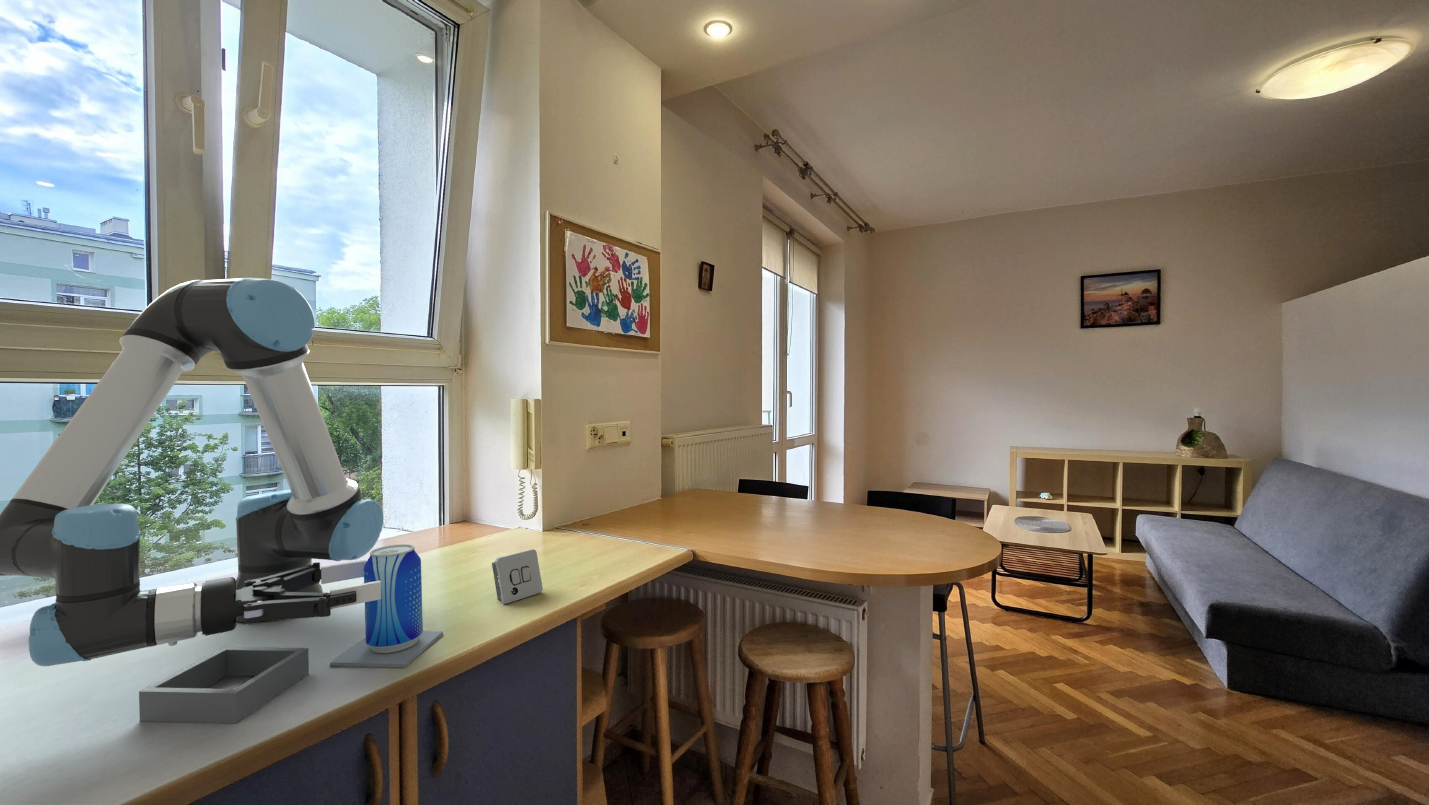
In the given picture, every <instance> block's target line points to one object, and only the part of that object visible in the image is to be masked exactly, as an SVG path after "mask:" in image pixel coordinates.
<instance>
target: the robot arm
mask: <svg viewBox="0 0 1429 805" xmlns="http://www.w3.org/2000/svg"><path fill="white" fill-rule="evenodd" d="M315 327H316V319H315V314H314V311H313V308H312V307H311V305H310V303H309V301H308V300H307V299H306V297H305V296H304V295H303V294H302V293H301V292H300V291H299V290H297V289H296V288H295V287H294V286H291V285H289V284H288V283H286V282H285V281H282V280H279V279H273V278H262V277H260V278H259V277H254V276H253V277H240V278H239V277H237V278H222V279H221V278H220V279H193V280H190V281H185V282H183V283H179V284H177V285H175V286H173V287H171V288H169V289H167V290H165V292H163V293H162V294H161V295H159V296H158V297H156V298H155V299H154V300H153V301H152V302H151V303H149V305H148V306H146V307H145V308H144V310H142V311H141V312H140V313H139V315H138V316H137V317H136V318H135V319H134V321H132V323H131V324H130V326H128V328H127V329H126V330H125V332H124V333H123V334H122V335H121V337H120V338H119V340H118V341H119V344H120V346H121V348H122V350H121V352H120V353H119V354H118V356H117V357H116V358H115V359H114V360H113V362H112V364H111V365H110V367H109V368H108V369H107V370H106V372H105V373H104V374H103V376H102V377H101V378H100V380H99V381H98V382H97V384H96V385H95V386H94V388H93V389H92V390H91V392H90V393H89V395H88V396H87V397H86V398H85V400H84V401H83V402H82V404H81V405H80V407H78V410H77V411H76V412H75V414H73V416H72V417H71V419H70V420H69V421H68V422H67V424H66V426H65V427H64V428H63V430H62V431H61V432H60V433H59V435H58V436H57V438H56V439H55V440H54V442H53V443H52V444H51V446H50V447H49V448H48V450H47V451H46V453H45V454H44V456H42V458H41V459H40V460H39V462H38V463H37V465H36V466H35V467H34V469H32V472H31V473H30V474H29V475H28V477H27V478H26V479H25V481H24V482H23V484H22V485H21V487H19V489H18V490H17V491H16V493H15V494H14V495H13V497H12V498H11V500H10V501H9V502H8V504H6V506H5V507H4V508H3V509H2V510H1V512H0V577H2V576H4V577H6V576H12V577H13V576H19V577H21V576H22V577H36V578H44V579H46V578H47V579H54V580H55V581H54V583H55V602H53V603H51V604H50V605H45V606H42V607H40V608H38V609H37V610H36V611H35V612H33V615H32V618H31V621H30V624H29V636H28V651H29V657H30V660H32V662H33V664H35V665H37V666H40V667H52V666H58V665H64V664H69V663H70V664H71V663H77V662H81V661H82V662H88V661H91V660H94V659H99V658H103V657H104V658H105V657H108V656H113V655H117V654H122V653H126V652H131V651H137V650H141V649H145V648H151V647H156V646H160V645H165V644H168V646H170V647H173V646H176V645H177V644H178V642H181V641H185V640H189V639H194V638H196V637H197V635H198V633H201V634H202V635H204V636H205V637H207V636H212V635H217V634H222V633H227V632H231V631H234V630H236V627H237V626H238V625H237V624H238V623H239V622H240V623H241V622H242V623H243V624H246V625H247V624H248V625H249V624H253V623H260V622H267V621H280V620H281V621H282V620H293V619H294V620H296V619H307V618H308V619H309V618H311V619H312V618H327V617H330V616H331V614H332V613H331V610H335V609H338V608H344V607H349V606H353V605H358V604H365V602H369V601H374V600H379V599H381V581H375V582H369V583H364V582H363V583H359V584H353V585H347V586H342V587H336V588H332V589H329V592H324V591H323V586H322V585H325V584H332V583H335V582H336V583H337V582H342V581H349V580H353V579H360V578H364V565H365V564H366V562H367V560H368V559H363V560H358V559H360V558H362V557H364V556H366V555H367V554H368V553H370V552H371V551H372V550H373V548H374V546H376V544H377V542H378V541H379V539H380V535H381V533H382V530H383V528H384V518H385V517H384V511H383V508H382V506H381V505H380V503H378V502H377V501H376V500H373V499H371V498H364V496H363V495H362V492H361V490H360V486H359V484H358V483H357V481H356V480H354V479H350V478H347V477H346V476H345V472H344V470H343V467H342V465H341V461H340V459H339V457H338V456H339V455H338V453H337V452H336V448H335V446H334V443H333V440H332V438H331V434H330V432H329V429H328V427H327V425H326V424H327V423H326V421H325V419H324V416H323V413H322V411H321V408H320V405H319V403H318V399H317V398H316V394H315V392H314V389H313V386H312V384H311V381H310V379H309V376H308V374H307V370H306V367H305V365H304V360H305V359H306V358H307V356H308V355H309V353H310V349H309V347H308V345H309V343H310V341H312V338H313V337H314V334H315V333H314V331H313V329H315ZM215 351H216V352H217V351H218V352H219V353H220V355H221V357H222V358H221V359H222V361H223V362H224V365H225V367H226V369H227V370H228V371H230V372H233V373H236V374H238V375H240V376H241V377H242V379H243V380H244V383H245V386H246V387H247V389H248V392H249V395H250V397H251V399H252V402H253V404H254V406H255V409H256V411H257V413H258V415H259V418H260V421H261V423H262V425H263V427H264V431H265V433H266V435H267V437H268V441H269V443H270V445H271V447H272V449H273V452H274V454H275V457H276V458H277V461H278V463H279V466H280V469H281V471H282V473H283V475H284V477H285V481H286V483H287V485H288V487H289V489H283V490H282V489H281V490H277V491H270V492H263V493H258V494H255V495H254V494H253V495H249V496H246V497H244V498H242V499H241V500H240V501H239V502H238V503H237V510H236V512H237V513H236V517H235V522H236V524H235V525H236V543H237V545H236V549H237V577H236V578H235V577H233V576H228V577H224V578H216V579H210V580H209V579H208V580H205V581H204V582H202V584H201V585H198V584H197V583H196V582H189V583H182V584H176V585H171V586H165V587H164V586H163V587H158V588H154V589H149V590H141V580H140V555H141V554H140V552H141V551H140V550H141V549H140V548H141V546H140V545H141V542H140V541H141V535H142V532H141V529H140V528H139V521H138V520H139V519H138V511H137V509H136V508H135V507H134V506H133V505H130V504H127V503H110V504H108V503H103V504H102V503H101V504H95V502H96V501H97V499H98V498H99V496H100V495H101V494H102V492H103V491H104V489H105V488H106V486H107V485H108V483H109V482H110V480H111V478H112V477H113V476H114V475H115V473H116V471H117V470H118V469H119V467H120V465H121V464H122V462H123V461H124V459H126V457H127V455H128V453H129V452H130V450H131V449H132V448H133V446H134V444H135V443H136V441H137V440H138V438H139V437H140V436H141V434H142V432H143V431H144V430H145V428H146V427H147V425H148V424H149V422H150V421H151V419H152V418H153V416H154V415H155V413H156V411H157V410H158V408H160V406H161V405H162V403H163V401H165V400H164V399H165V398H166V397H167V395H168V394H169V393H170V392H171V390H172V388H173V387H174V385H175V384H176V382H177V381H178V379H179V377H180V376H181V375H182V373H187V372H191V371H193V370H194V369H195V367H197V365H198V364H199V362H200V360H202V358H204V357H205V356H206V355H208V354H209V353H212V352H215ZM313 559H315V560H326V561H335V562H340V561H350V562H343V563H339V564H332V565H326V566H321V562H317V561H316V562H313V561H312V560H313ZM354 560H355V561H354ZM237 622H238V623H237Z"/></svg>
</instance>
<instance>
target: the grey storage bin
mask: <svg viewBox="0 0 1429 805" xmlns="http://www.w3.org/2000/svg"><path fill="white" fill-rule="evenodd" d="M309 656H310V655H309V648H308V647H269V646H268V647H267V646H263V647H262V646H261V647H260V646H256V647H255V646H224V647H222V648H220V649H218V650H217V651H214V652H212V653H211V654H208V655H207V656H205V657H203V658H200V659H199V660H196V662H193V663H192V664H189V665H188V666H185V667H184V668H181V669H179V670H178V671H175V672H173V673H172V674H170V675H168V676H166V677H163V678H162V679H160V680H158V681H156V682H155V683H153V684H151V685H149V686H147V687H145V688H143V689H141V690H139V691H138V701H139V702H138V703H139V709H138V710H139V722H156V723H201V724H202V723H203V724H205V723H207V724H208V723H209V724H238V723H239V722H241V721H242V720H243V719H245V718H247V717H248V716H249V715H251V714H253V713H254V712H255V711H256V710H259V708H261V707H262V706H264V705H266V704H267V703H269V702H270V701H271V700H273V699H274V698H276V697H278V695H280V694H282V693H283V692H284V691H286V690H288V689H289V688H291V687H292V686H293V685H295V684H297V683H298V682H299V681H301V680H302V679H303V678H305V677H307V676H308V675H309V674H310V669H309V668H310V666H309V664H310V660H309V658H310V657H309ZM231 676H232V677H252V678H250V679H249V680H247V681H246V682H244V683H243V684H241V685H239V686H238V687H236V688H207V687H209V686H212V685H213V684H215V683H216V682H219V681H220V680H221V679H224V678H225V677H231Z"/></svg>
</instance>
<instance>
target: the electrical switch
mask: <svg viewBox="0 0 1429 805" xmlns="http://www.w3.org/2000/svg"><path fill="white" fill-rule="evenodd" d="M537 553H538V552H537V550H536V549H534V548H531V549H527V550H524V551H519V552H516V553H511V554H507V555H504V556H499V557H497V558H496V559H495V561H494V562H491V567H492V568H491V569H492V572H493V579H494V580H493V581H494V584H495V591H496V592H495V593H496V598H497V601H500V602H501V603H502V604H503V605H506V604H510V603H514V602H517V601H518V600H522V599H525V598H528V597H531V596H534V595H538V594H540V593H542V592H543V590H544V587H543V582H542V576H541V572H540V564H539V559H538V554H537Z"/></svg>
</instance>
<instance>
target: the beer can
mask: <svg viewBox="0 0 1429 805" xmlns="http://www.w3.org/2000/svg"><path fill="white" fill-rule="evenodd" d="M421 559H422V558H421V557H420V555H419V554H418V553H417V551H416V550H415V545H414V544H403V543H402V544H401V543H400V544H392V545H386V546H385V545H384V546H381V547H376V548H374V549H371V550H370V551H369V557H368V559H366V560H367V562H366V564H365V565H364V577H363V584H364V583H369V582H375V581H381V599H379V600H374V601H369V602H364V622H365V623H364V626H365V627H364V628H365V630H364V631H365V638H366V644H367V645H368V646H370V648H371V650H372V651H374V652H377V653H390V652H396V651H400V650H403V649H406V648H409V647H411V646H413V645H414V644H415V643H416V642H417V641H418V639H419V637H420V636H421V634H422V633H423V631H424V628H423V627H424V625H423V624H424V622H423V620H424V619H423V587H422V586H423V585H422V560H421Z"/></svg>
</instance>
